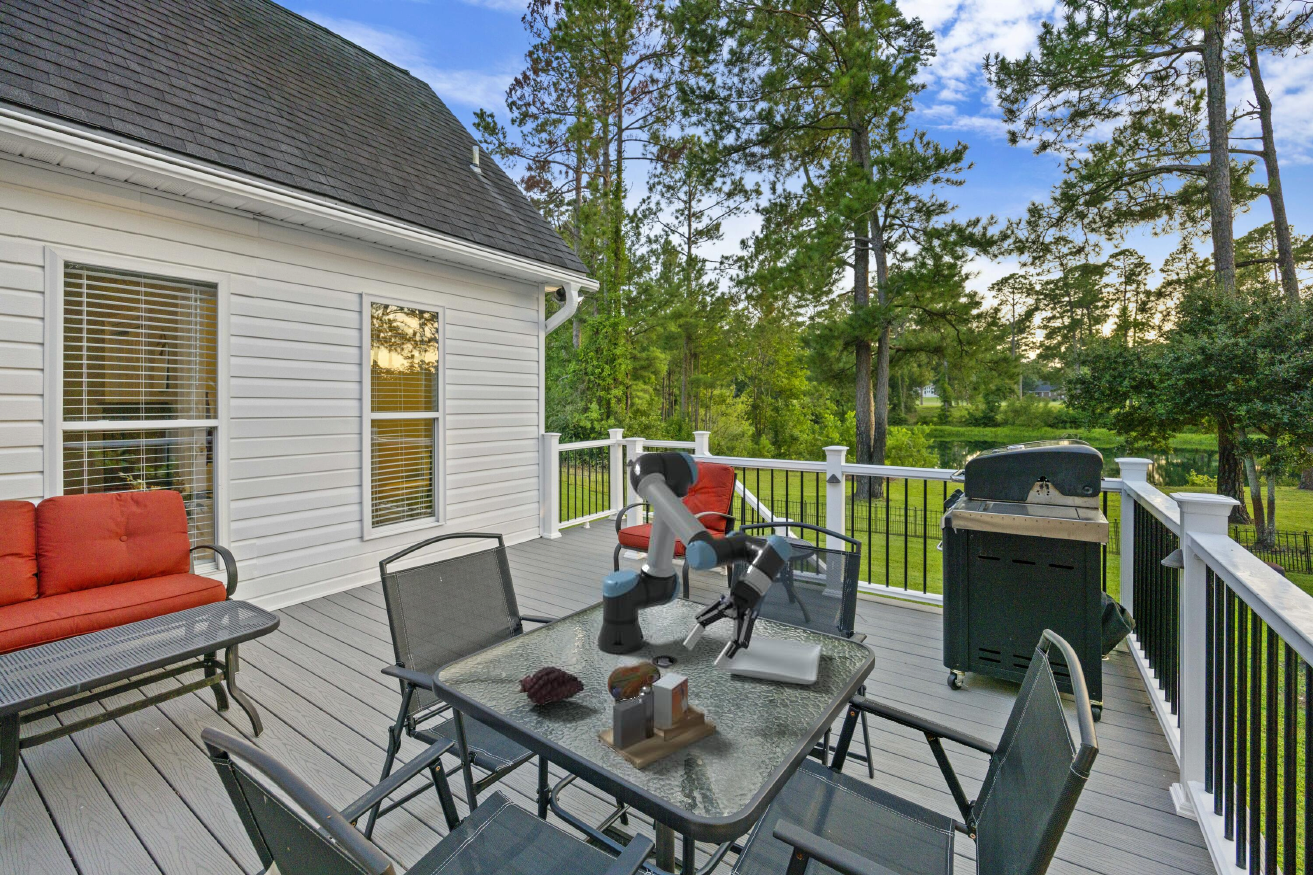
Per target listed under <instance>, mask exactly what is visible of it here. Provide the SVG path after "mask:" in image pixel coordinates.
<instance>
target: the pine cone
mask: <svg viewBox="0 0 1313 875" xmlns="http://www.w3.org/2000/svg"><path fill="white" fill-rule="evenodd" d="M578 679H579V678H578V676H576V675H574V674H573V673H569V672H566V671H565V670H562V669H561V668H557V667H556V666H546V667H545V666H544V667H542V668H541V669H538V670H537V671H535V673H533V674H532V676H531V675H526V676H525V677H524V678H523V679H519V680H518V682H519V683H520V686H521V687H520V689H519V691H518V693H519V694H526V697H527V699H529V700H530V702H531V703H532V704H535V703H537V704H539V705H541V706H542V705H543V704H545V703H546V702H549V701H551V702H563V701H564V700H568V699H572V698H573V697H574V696H575V695H576V696H577V695H578V694H580V692H584V689H585V686H584V685H585V684H584V683H583V682H582V680H578ZM549 703H550V702H549ZM546 704H547V703H546ZM546 704H545V705H546ZM539 705H538V706H539Z"/></svg>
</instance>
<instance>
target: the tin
mask: <svg viewBox="0 0 1313 875" xmlns="http://www.w3.org/2000/svg"><path fill="white" fill-rule="evenodd" d="M661 678H662V677H661V672H660V669H659V667H658V666H657V665H655V664H653V663H652V662H649V661H640V662H637V663H633V664H627V665H624V666H619V667H616V668H615V669H614V670H613V671H611V673H610V675H609V676H608V679H607V686H606V687H607V691H608V692H609V694H610V696H612V698H613V699H615V700H616V701H618V702H621V701H620V700H623V699H629V700H630V698H634V697H637V696H639V691H640V690H643V687H644V686H650V690H652V684H653V683H655V682H656V681H658V680H659V679H661Z"/></svg>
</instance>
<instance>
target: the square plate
mask: <svg viewBox="0 0 1313 875" xmlns="http://www.w3.org/2000/svg"><path fill="white" fill-rule="evenodd" d="M744 641H745V640H744ZM822 650H823V646H822V645H821V644H818V643H817V644H816V643H809V642H802V641H797V640H795V641H794V640H791V639H781V638H774V637H767V636H757V635H751V639H750V643H749V647H748V648H747V649H744V648H741V649H738V651H737V652H736V654H735V655H734V657H733V658H732V659H730V660H729V662H728V663H727V664H726V666H725V667H724V669H723V670H722V671H724V672H725V673H726V672H727V673H728V674H732V675H740V676H743V677H745V678H746V677H747V678H755V679H762V680H768V681H776V682H781V683H789V684H800V685H812V684H814V683H815V682H817V680H818V672H819V664H820V659H821V658H820V657H821V654H822Z"/></svg>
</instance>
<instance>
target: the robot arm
mask: <svg viewBox="0 0 1313 875" xmlns="http://www.w3.org/2000/svg"><path fill="white" fill-rule="evenodd" d="M698 479H699V469H698V465H697V463H696V461H695V458H694V457H693V456H692V455H691V454H690V453H688V452H686V451H677V450H674V451H660V452H647V453H644V454H641V455H640V456H638V457H637V458H636V459H635V460H634V461H633V463H632V465H631V467H630V471H629V481H630V484H631V487H632V490H633V491H634V492H635V494H636V495H637V496H638V497H639V498H640V499H642V500H646V501H647V503H648V504H649V505H650V506H651V507H652V509H653V514H652V521H651V522H652V523H651V527H650V528H651V529H650V536H649V542H648V549H647V557H646V560H645V561H643V562H642V564H641V567H640V572H639V573H638V572H637V571H635V570H632V569H626V570H618V571H614V572H611V573H610V574H608V575H606V576H605V578H604V580H603V582H602V590H601V592H602V624H601V628H600V631H599V635H598V636H597V647H598V646H599V647H598V649H599V650H601V649H602V650H601V651H603V650H604V651H603V652H605V651H606V653H609V652H610V654H616V653H623V654H630V653H634V652H637V651H640V650H641V649H642V648H643V647H644V644H645V638H644V637H645V636H644V634H643V631H642V627H641V624H640V621H639V611H641V610H645V609H650V608H654V607H660V606H665V605H668V604H671V603H672V602H674V601H675V600H676V599H677V598H678V597H679V593H680V592H681V591H680V590H681V581H680V576H679V573H678V572H677V571H676V567H675V566H674V565H673V561H674V560H673V559H674V554H675V547H676V540H677V538H678V540H679V541H680V542H681V544H683V546H684V547H685V548H686V549H685V559H686V560H687V564H688V566H689V567H690V568H691V569H692V570H694V571H710V570H712V569H715V568H721V567H726V566H733V565H736V564H743V563H745V564H747V566H746V568H745V570H743V572H742V573H741V575H740V576H739V579H738V580H736V582H735V583H734V585H733V586H732V588H731V589H730V596H728V597H727V596H726V595H725V594H723V593H720V594H719V596H717V598H716V599H715V600H714V601H712V602H711V603H709V604H708V605H707V606H706V607H704V608H703V609H702V610H700V611H699V612H698V613H697V614H695V615H694V619H695V620H696V623H695V625H694V627H693V628H692V629H691V630H690V633H689V635H688V636H687V638H686V639H685V640H684V642H683V643H682V644H683V645H684V647H685V648H687V650H689V651H692V650H693V648H694V647H695V646H696V644H697V643H698V641H699V640H700V638H701V637H702V636H703V634H704V633H705V632H706V629H707V628H706V627H708V626H710V625H712V624H713V623H716V622H719V620H722V619H727V618H728V619H729V620H732V621H733V627H732V628H733V630H732V639H731V640H729V641H728V643H727V644H726V646H724V648H723V649H722V651H721V653H719V655H718V657H717V658H716V660H715V661H714V662H713V665H714V666H715V667H716V668H717V669H718V670H719V671H721V672H723V671H724V670H723V669H724V667H725V666H726V664H727V663H728V662H729V660H730V659H732V658H733V657H734V655H735V654H736V652H737V651H738V649H741V648H744V649H747V648H748V647H749V643H750V639H751V636H753V635H752V634H753V630H754V626H755V623H756V621H757V619H758V616H759V613H758V612H757V611H756V607H757V606H758V605H759V603H760V601H761V600H762V596H764V595H765V594H766V593H767V591H768V590H769V588H770V587H771V585H772V584H773V582H774V581H775V579H777V576H778V575H779V574H780V573H781V572H782V570H783V569H784V567H785V566H786V565H787V563H788V561H789V560H790V557H791V556H792V555H793V551H794V549H793V547H792V545H791V544H790V542H788V540H786V539H785V538H783V536H780V535H777V534H775V533H773V534H770V535H769V536H768V537H767V538H766V540H764V539H760V538H758V537H755V536H753V535H751V534H748V533H747V532H744V531H740V530H739V531H738V530H731V531H730V532H729V533H727V534H726V535H725V536H723V537H718V538H715V537H714V536H713V535H712V534H711V533H710V532H709V531H708V529H707V528H706V527H705V526H704V524H703V523H701V522H700V520H699V519H698V518H697V517H696V516H695V515H694V513H692V512H691V510H690V509H689V508H688V507H687V505H685V503H683V499H685V498H686V497H688V493H689V488H691V487H693V486H695V485H696V483H697V481H698ZM744 640H745V641H744Z"/></svg>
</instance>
